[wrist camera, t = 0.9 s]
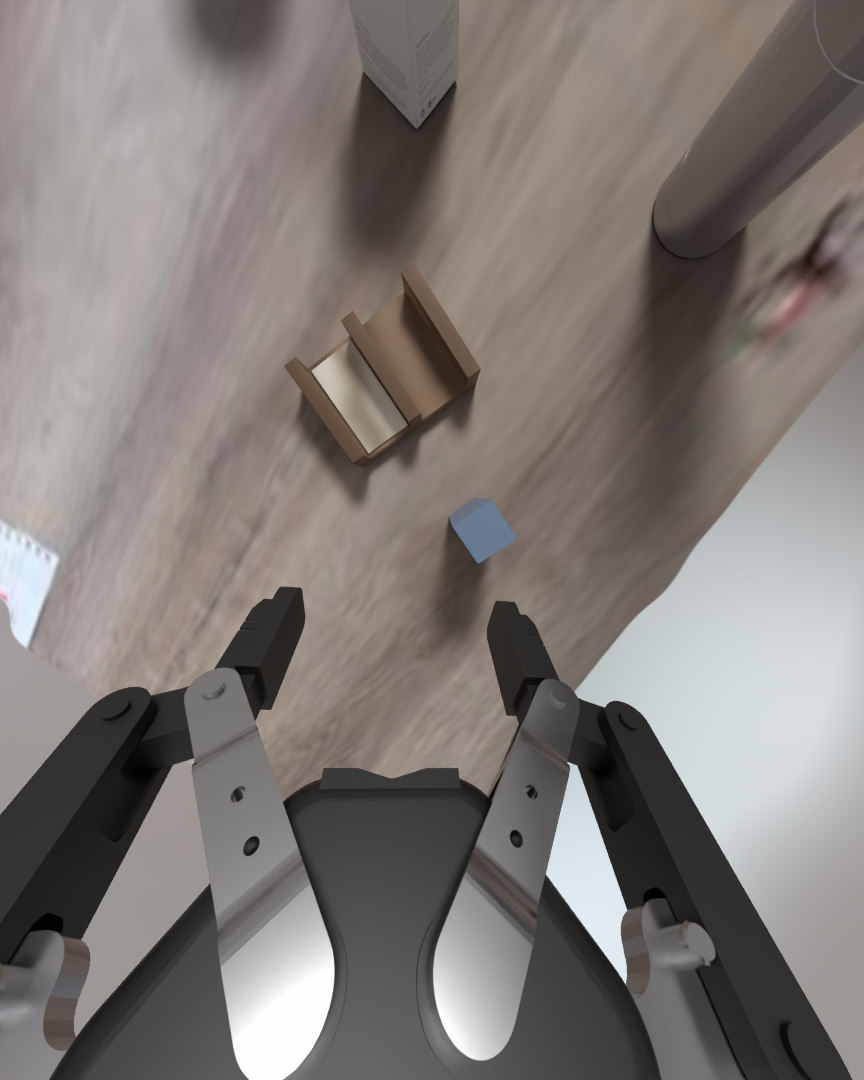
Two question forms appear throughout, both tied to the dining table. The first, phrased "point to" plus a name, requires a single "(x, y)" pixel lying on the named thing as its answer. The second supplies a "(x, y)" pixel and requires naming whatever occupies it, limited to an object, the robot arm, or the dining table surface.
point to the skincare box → (409, 50)
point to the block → (481, 528)
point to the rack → (388, 372)
